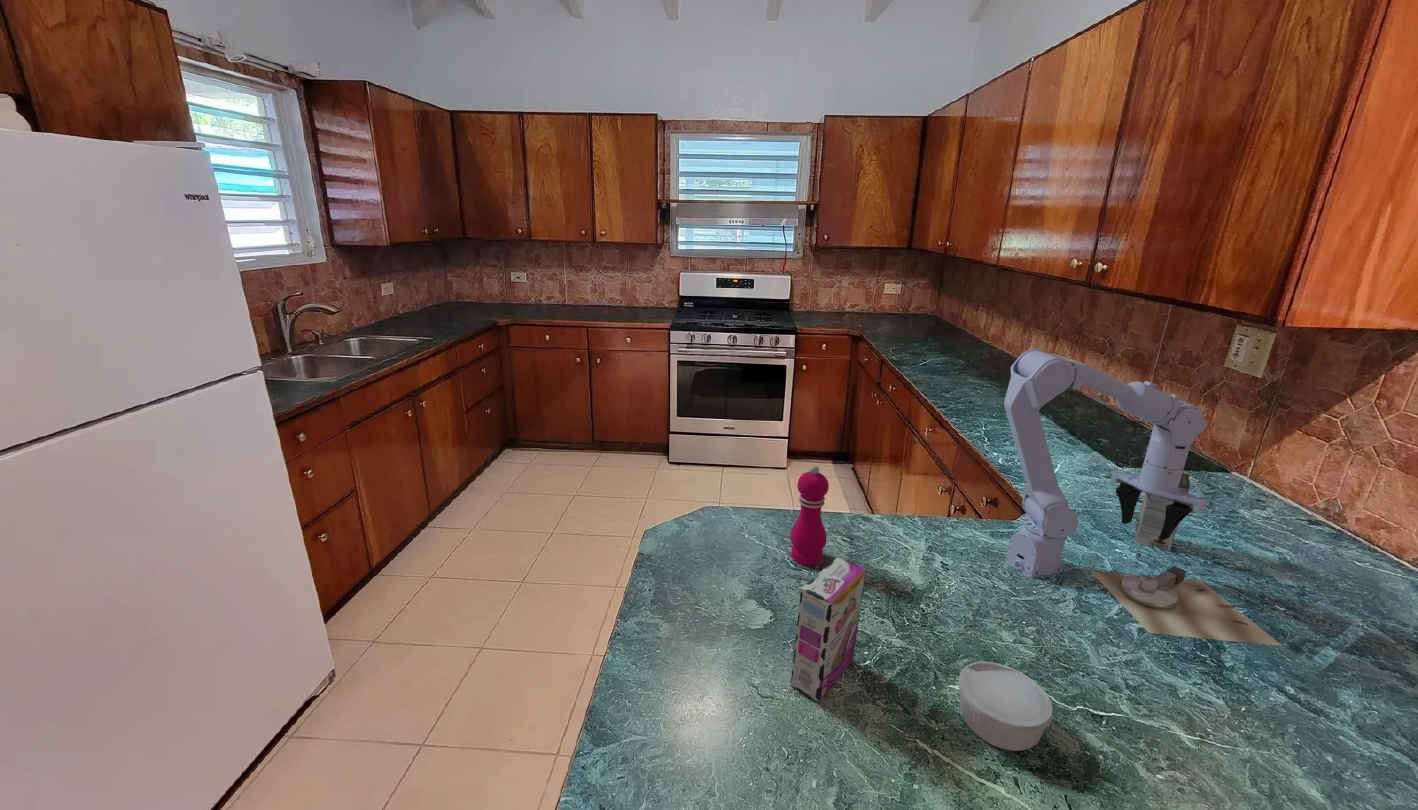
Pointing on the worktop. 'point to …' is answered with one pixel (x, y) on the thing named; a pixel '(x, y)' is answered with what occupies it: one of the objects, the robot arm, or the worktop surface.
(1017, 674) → the ramekin
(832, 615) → the candy bar box
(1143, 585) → the dial
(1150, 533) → the coffee box
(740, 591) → the worktop surface
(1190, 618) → the dial board
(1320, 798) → the worktop surface
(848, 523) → the worktop surface
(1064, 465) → the worktop surface
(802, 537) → the pepper mill
